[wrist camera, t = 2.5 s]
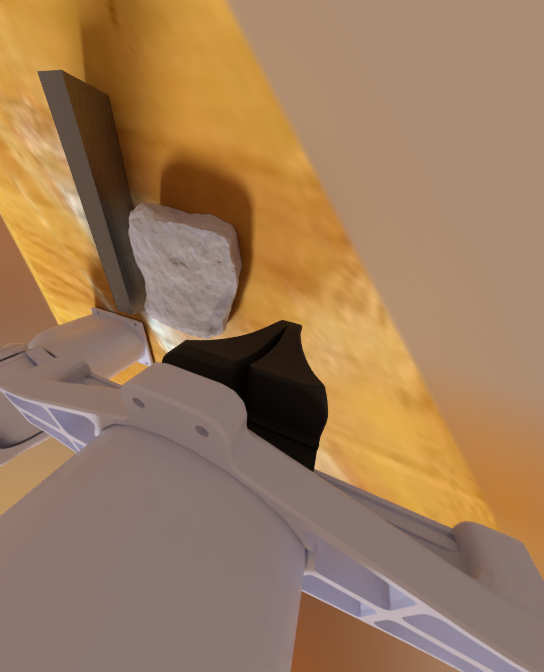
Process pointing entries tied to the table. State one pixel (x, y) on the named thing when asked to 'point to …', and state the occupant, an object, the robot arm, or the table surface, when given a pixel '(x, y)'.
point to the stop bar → (98, 179)
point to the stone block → (186, 267)
